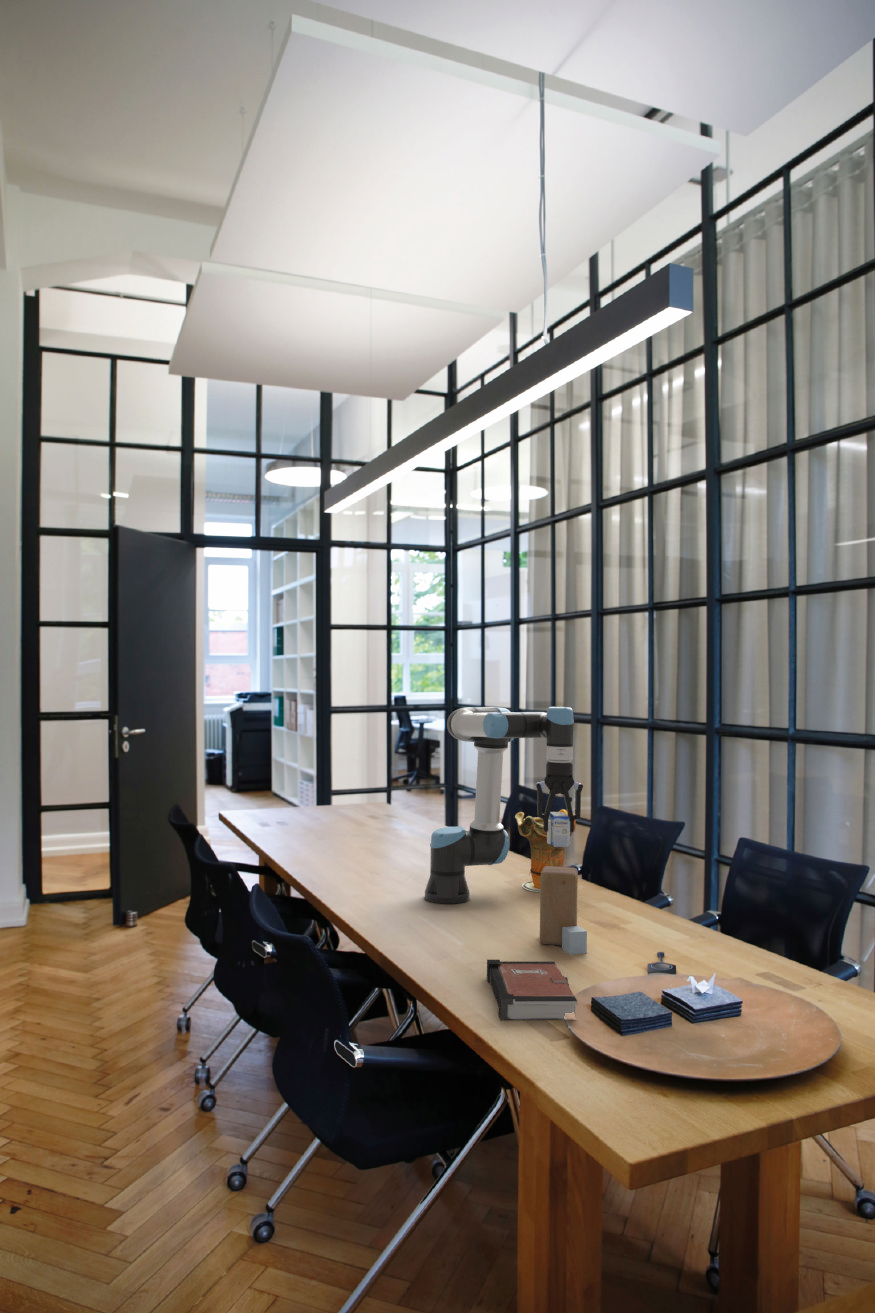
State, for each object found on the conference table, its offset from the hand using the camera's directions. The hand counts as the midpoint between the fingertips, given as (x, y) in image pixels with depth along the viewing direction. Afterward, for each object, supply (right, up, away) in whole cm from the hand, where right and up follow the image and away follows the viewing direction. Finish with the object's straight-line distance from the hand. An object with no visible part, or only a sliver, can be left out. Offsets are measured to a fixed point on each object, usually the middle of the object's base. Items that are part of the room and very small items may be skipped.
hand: (558, 843), depth 240 cm
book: (-13, -27, -45) cm, 54 cm away
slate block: (+3, -27, -10) cm, 29 cm away
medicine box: (0, -1, 0) cm, 1 cm away
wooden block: (0, -28, -1) cm, 28 cm away
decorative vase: (+5, -30, +62) cm, 69 cm away
